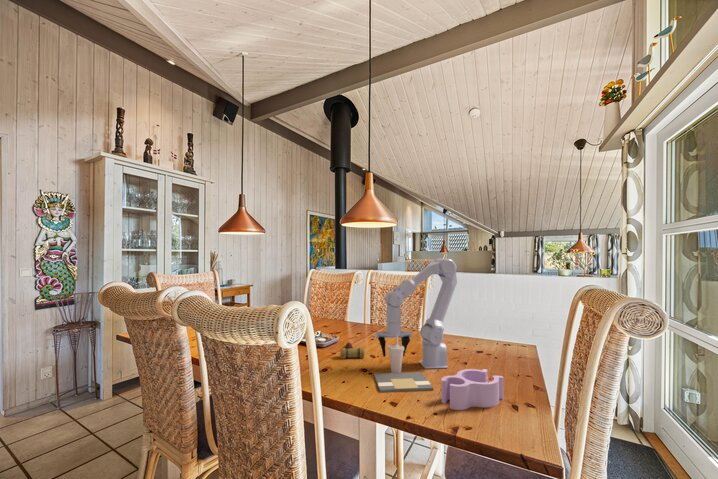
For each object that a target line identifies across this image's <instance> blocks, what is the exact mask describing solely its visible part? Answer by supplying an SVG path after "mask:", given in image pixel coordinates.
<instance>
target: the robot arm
mask: <svg viewBox="0 0 718 479" xmlns="http://www.w3.org/2000/svg"><path fill="white" fill-rule="evenodd" d="M457 269H458V266H457V265H456V263H455V262H454V260H453V259H451V258H440V257H437V258H435V259H434V260H433V261H431V262H429V263H428V264H427V265H426V266H425V267H424V268H423V269H422V270H420V271H419V272H418V273H417V274H416V275H415V276H414V277H412V278H411V279H410V278H407V279H403V280H402V281H401V283H400V284H399V285H397V286H396V287H393V288H392V290H390V291H388V292H387V293H386V295H385V297H384V302H385V303H386V330H385V331H375V333H374V334H375V339H378V341H379V344H380V347H381V351H382V356H383V357H384V358H385V357H386V356H387V354H386V342H387V341H386V338H388V339H389V338H390V339H391V338H392V339H393V338H397V335H398V338H400V339H401V345H402V346H404V351H403V357H405V354H406V351H407V347H408V346H409V343H410V341H411V338H413V333H412V331H405V330H401V329H402V328H401V327H402V325H401V324H402V321H401V320H402V319H401V318H402V316H401V315H402V314H401V313H402V312H401V311H402V309H401V308H402V304H403V303H404V300H406V299H407V298H408V297H409V296H411V295H412V294H413V293H414V292H416V290H417V288H418V287H417V286H418V285H419V284H421V283H423V282H425V280H427V279H428V278H431V276H432V275H438V276H439V278H440V280H441V283H442V284H441V286H440V289H439V292H438V295H437V297H436V300H435V302H434V306H433V308H432V311H431V313H430V317H428V318H427V319H426V320H425V323H424V324H423V325H422V326H421V328H420V330H419V333H420V337H421V338H422V341H421V342H422V360H419V364H420V365H421V366H422V367H423V368H424V369H426V370H427V369H428V370H429V369H448V349H447V344H445V343H444V342H443V340H444V330H445V327H444V323H443V322H444V319H445V317H446V314H447V312H448V309H449V307H450V303H451V301H452V299H453V298H452V297H453V295H454V292H455V289H456V287H457V283H458V279H457Z"/></svg>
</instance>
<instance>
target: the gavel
mask: <svg viewBox="0 0 718 479" xmlns="http://www.w3.org/2000/svg"><path fill="white" fill-rule="evenodd" d="M357 358H359V359H364V358H365V349H364V346H361V347H360V346H359V347H358V348H357V347H355V348H354V347H353V345H352V343H351V342H347V343H346V347H341V348H340V359H341V360H344V359H345V360H346V359H357Z"/></svg>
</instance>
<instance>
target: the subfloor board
mask: <svg viewBox="0 0 718 479" xmlns="http://www.w3.org/2000/svg"><path fill="white" fill-rule="evenodd" d="M373 376H374V377H373V378H374V379H375V382H376V385H377V387H378V389H379V392H380V393H393V392H394V393H396V392H397V393H398V392H419V391H420V392H421V391H426V392H427V391H434V386H433V385H432V384H431V382H430V381H429V380H428V378H426V376H425V375H424V374H423V372H422V371H416V372H415V371H413V372H412V371H411V372H401V373H392V372H389V373H388V372H386V373H385V372H384V373H383V372H382V373H380V372H379V373H373Z"/></svg>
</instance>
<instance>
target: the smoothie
mask: <svg viewBox="0 0 718 479" xmlns="http://www.w3.org/2000/svg"><path fill="white" fill-rule="evenodd" d="M387 350H388V355H389V364H390V371H391V372H390V373H402V365H403V359H404V358H403V357H404V356H403V351H404V346H402V344H399V337H398V335H397V337H396V343H395V344H389V345H388V346H387Z"/></svg>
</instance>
